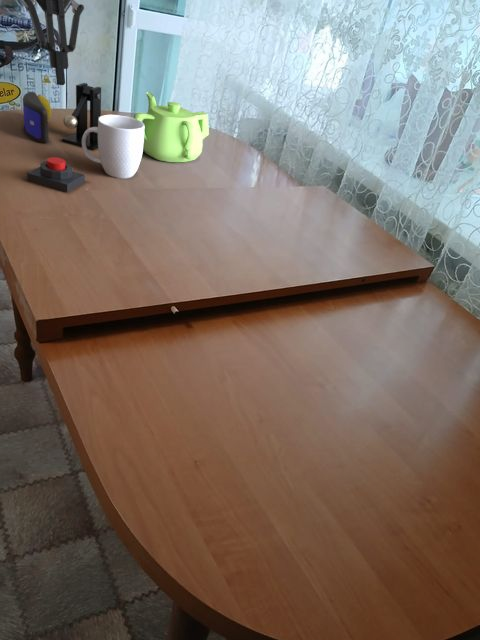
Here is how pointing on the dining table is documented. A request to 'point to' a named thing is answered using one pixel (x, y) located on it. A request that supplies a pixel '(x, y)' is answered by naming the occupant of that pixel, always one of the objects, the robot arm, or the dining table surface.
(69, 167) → the button box
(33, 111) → the blue panel tablet
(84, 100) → the lever
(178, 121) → the teapot
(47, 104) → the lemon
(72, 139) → the pendulum stand
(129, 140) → the mug
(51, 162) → the button
